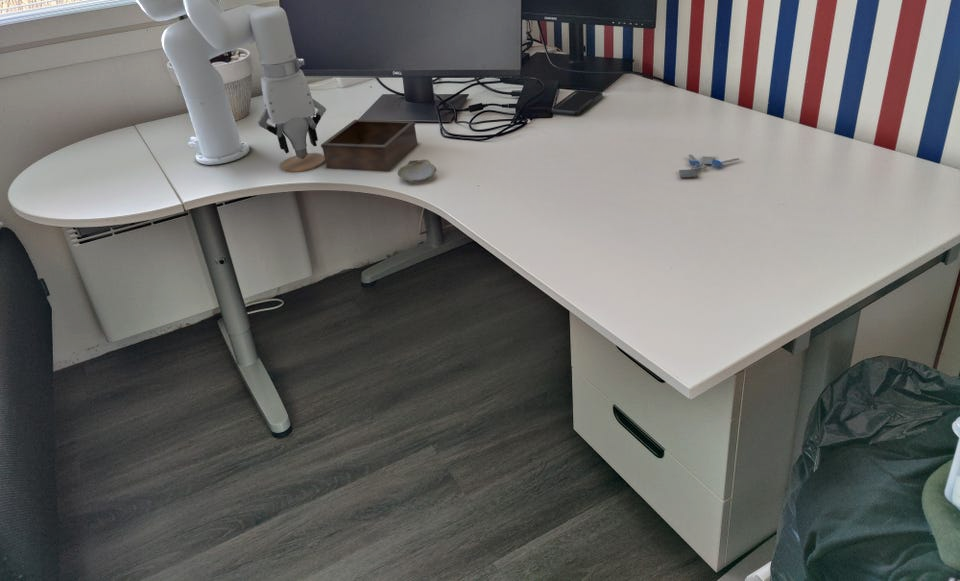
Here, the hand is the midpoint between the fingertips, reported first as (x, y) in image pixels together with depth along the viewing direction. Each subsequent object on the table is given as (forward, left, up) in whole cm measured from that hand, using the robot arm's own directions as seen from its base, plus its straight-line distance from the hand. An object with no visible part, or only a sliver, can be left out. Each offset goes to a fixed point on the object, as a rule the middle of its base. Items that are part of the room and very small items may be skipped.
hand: (300, 147), depth 168 cm
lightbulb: (0, 0, -3) cm, 3 cm away
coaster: (0, 0, -4) cm, 4 cm away
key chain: (+87, +9, -4) cm, 87 cm away
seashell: (+31, -4, -4) cm, 31 cm away
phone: (+54, +43, -4) cm, 69 cm away
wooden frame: (+15, +6, -4) cm, 17 cm away
